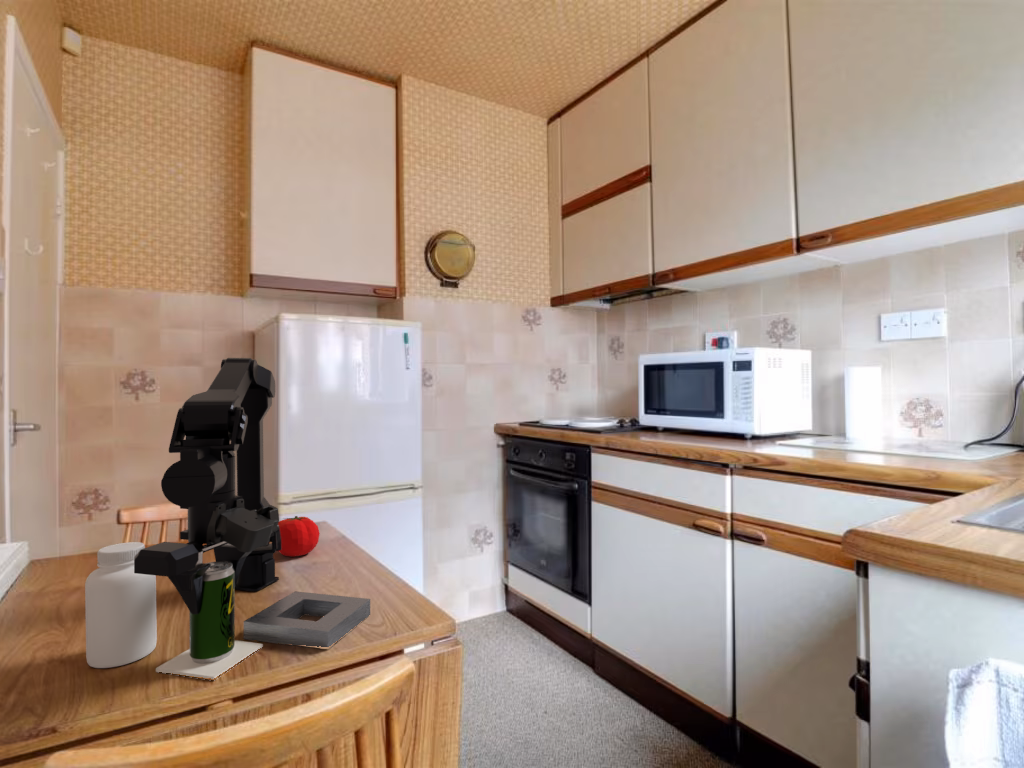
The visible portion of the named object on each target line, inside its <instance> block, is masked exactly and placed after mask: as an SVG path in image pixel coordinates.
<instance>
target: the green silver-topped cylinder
mask: <svg viewBox="0 0 1024 768" xmlns="http://www.w3.org/2000/svg"><path fill="white" fill-rule="evenodd" d="M205 564H211V566H210V567H209V568H208V569H207V571H206V572H205V573H204V574H203V581H202V602H201V609H200V613H199V614H191V612H190V611H189V649H190V656H191V658H192V660H193V662H195V663H199V664H208V663H213V662H217V661H220V660H222V659H224V658H226V657H228V656H229V655H230V654H231V653H232V651H233V648H234V645H235V640H236V639H235V633H236V632H235V631H236V630H235V627H236V626H235V625H236V624H235V622H236V621H235V617H236V616H235V615H236V614H235V613H236V612H235V611H236V610H235V609H236V608H235V606H236V605H235V598H236V597H235V591H236V589H235V571H234V569H233V567H232V566H233V564H232V563H231V562H227V561H216V560H215V561H211V562H205Z"/></svg>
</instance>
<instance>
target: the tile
mask: <svg viewBox="0 0 1024 768" xmlns="http://www.w3.org/2000/svg"><path fill="white" fill-rule="evenodd" d="M262 647H264V644H263V643H257V642H251V641H243V640H236V639H235V645H234V648H233V651H232V653H231V654H230V655H229V656H228V657H226V658H224V659H222V660H220V661H217V662H213V663H208V664H199V663H195V662H193V660H192V658H191V656H190V648H188V649H187V650H185V651H183V652H181V653H180V654H178V655H175V656H174V657H172V658H171V659H169V660H168V661H166V662H163V663H162V664H160V665H158V666H157V667H156V668H155V673H159V672H162V673H161V674H166V673H171V674H170V675H172V673H173V674H180V675H186V676H194V677H203V678H211V679H214V678H216V677H217V676H219V675H220V674H222V673H223V672H225V671H227V670H228V669H229V668H231V667H233V666H234V665H235V664H237V663H238V662H240V661H241V660H243V659H244V658H246V657H247V656H249V655H250V654H252V653H253V652H255V651H257V650H258V649H260V648H261V649H263V648H262ZM261 649H260V650H261ZM258 651H259V650H258ZM258 651H257V652H258ZM255 653H256V652H255ZM252 655H253V654H252ZM249 657H250V656H249ZM233 668H234V667H233ZM227 672H228V671H227Z"/></svg>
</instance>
